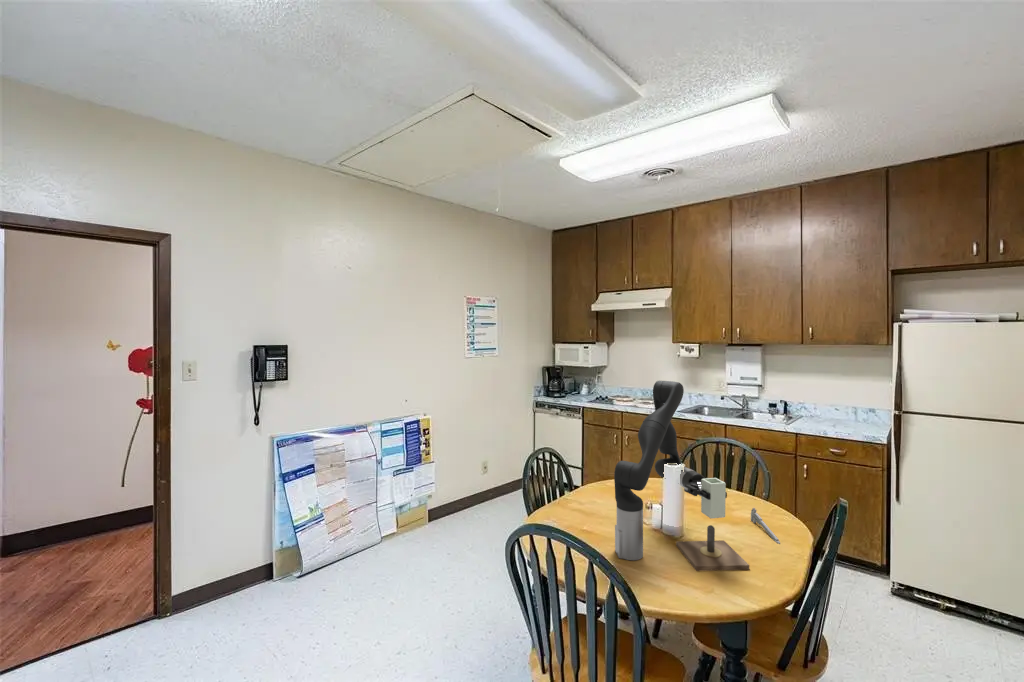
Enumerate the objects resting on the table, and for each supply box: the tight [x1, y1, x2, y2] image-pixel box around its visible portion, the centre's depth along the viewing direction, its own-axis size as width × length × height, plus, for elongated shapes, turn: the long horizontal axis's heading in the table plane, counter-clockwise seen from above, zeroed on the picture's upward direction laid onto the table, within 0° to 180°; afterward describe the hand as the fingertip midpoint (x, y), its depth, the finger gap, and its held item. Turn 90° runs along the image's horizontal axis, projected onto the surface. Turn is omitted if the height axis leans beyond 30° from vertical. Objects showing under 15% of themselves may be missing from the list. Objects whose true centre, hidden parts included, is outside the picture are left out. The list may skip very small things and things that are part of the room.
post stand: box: [675, 525, 750, 572], centre depth 167 cm, size 18×18×11 cm
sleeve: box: [700, 477, 727, 519], centre depth 166 cm, size 6×6×12 cm
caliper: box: [750, 507, 781, 545], centre depth 186 cm, size 20×1×6 cm, turn 0°
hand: (717, 496), depth 163 cm, fingers closed on sleeve, 5 cm apart
